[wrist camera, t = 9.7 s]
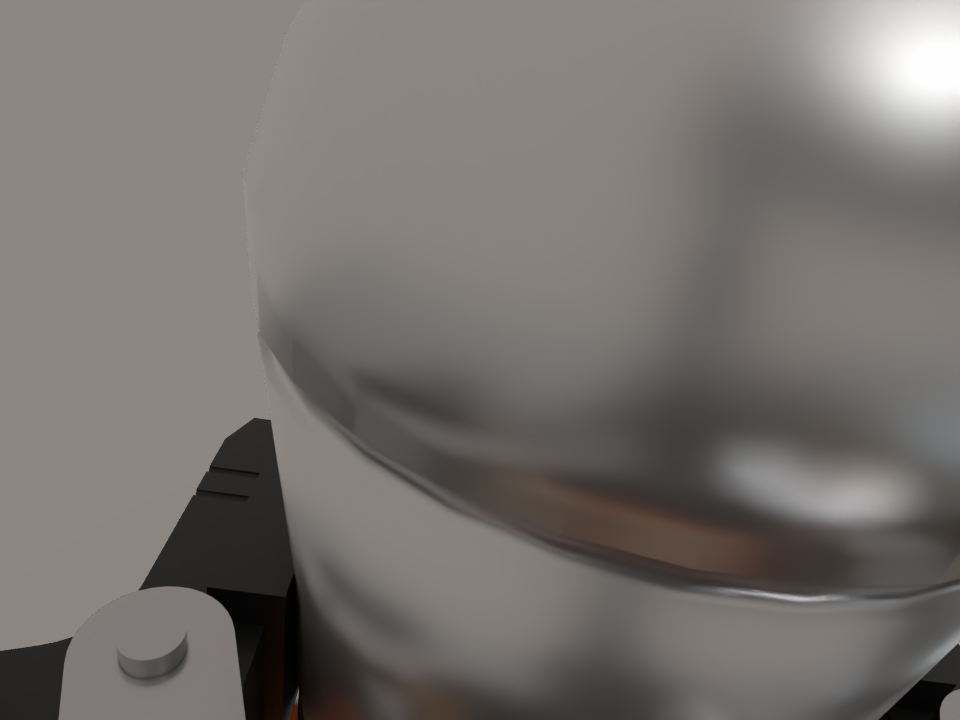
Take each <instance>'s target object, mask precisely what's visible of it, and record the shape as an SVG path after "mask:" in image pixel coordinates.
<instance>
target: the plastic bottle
mask: <svg viewBox="0 0 960 720" xmlns="http://www.w3.org/2000/svg"><path fill="white" fill-rule="evenodd" d="M242 178H243V188H244V189H243V190H244V201H245V213H246V226H247V242H248V259H249V277H250V294H251V299H252V303H253V307H254V311H255V316H256V320H257V324H258V329H259V333H258V340H259V346H260V352H261V359H262V365H263V372H264V379H265V384H266V392H267V398H268V404H269V411H270V417H271V424H272V430H273V437H274V443H275V450H276V456H277V463H278V469H279V476H280V482H281V489H282V495H283V502H284V508H285V515H286V521H287V528H288V534H289V541H290V547H291V554H292V560H293V567H294V573H295V603H296V656H297V683H298V688H299V700H298V720H879V719H880V718H881V717H882V716H883V715H884V714H885V713H886V712H887V711H888V710H889V709H890V708H891V707H892V706H893V705H894V704H895V703H896V702H897V701H898V700H899V699H901V698H902V697H903V696H904V695H905V694H906V693H907V692H908V691H909V690H910V689H911V688H912V687H913V686H914V685H915V684H916V683H917V682H918V681H919V680H920V679H921V678H922V677H923V676H925V675H926V674H927V673H928V672H929V671H930V670H931V669H932V668H933V667H934V666H935V665H936V664H937V663H938V662H939V661H940V660H941V659H942V658H943V657H944V656H945V655H946V654H947V653H949V652H950V651H951V650H952V649H953V648H954V647H955V646H956V645H957V644H958V643H959V642H960V0H306V1H305V2H304V4H303V6H302V7H301V9H300V11H299V12H298V14H297V15H296V17H295V19H294V21H293V22H292V24H291V25H290V27H289V29H288V31H287V33H286V36H285V39H284V42H283V45H282V49H281V52H280V55H279V58H278V61H277V64H276V67H275V71H274V74H273V77H272V80H271V84H270V87H269V90H268V93H267V96H266V99H265V102H264V106H263V109H262V112H261V115H260V118H259V121H258V125H257V128H256V131H255V134H254V137H253V141H252V144H251V147H250V150H249V154H248V156H247V160H246V163H245V166H244V169H243V172H242Z"/></svg>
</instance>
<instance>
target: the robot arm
mask: <svg viewBox="0 0 960 720" xmlns="http://www.w3.org/2000/svg"><path fill="white" fill-rule="evenodd" d="M298 689H299V688H298V683H297V656H296V603H295V573H294V567H293V560H292V554H291V547H290V541H289V534H288V528H287V521H286V515H285V508H284V502H283V495H282V489H281V482H280V476H279V469H278V463H277V456H276V450H275V443H274V437H273V430H272V424H271V420H265V419H258V418H254V419H252V420H251V421H250V422H249V423H247V424H246V425H244V426H243V427H241V428H240V429H239V430H237V431H236V432H234V433H233V434H231V435H230V436H229V437H227V438H226V439H225V440H224V442H223V444H222V446H221V448H220V449H219V451H218V453H217V454H216V456H215V458H214V460H213V461H212V463H211V465H210V469H209V472H206V474H205V476H204V477H203V479H202V481H201V483H200V484H199V486H198V488H197V492H196V495H194V496H193V497H192V498H191V500H190V502H189V504H188V505H187V507H186V509H185V511H184V512H183V514H182V516H181V518H180V519H179V521H178V523H177V525H176V527H175V528H174V530H173V532H172V534H171V536H170V537H169V539H168V541H167V542H166V544H165V546H164V548H163V549H162V551H161V553H160V555H159V556H158V558H157V560H156V562H155V564H154V565H153V567H152V569H151V570H150V572H149V574H148V576H147V577H146V579H145V581H144V583H143V585H142V586H141V588H140V589H139V590H138V591H137V592H134V593H131V594H128V595H125V596H123V597H121V598H119V599H116V600H114V601H112V602H111V603H109V604H107V605H106V606H104V607H103V608H101V609H100V610H98V611H97V612H96V613H95V614H93V615H92V616H91V617H90V618H89V619H88V620H87V621H86V622H85V623H84V624H83V625H82V626H81V627H80V629H79V630H78V631H77V633H76V634H75V636H74V637H71V638H68V639H65V640H62V641H58V642H54V643H49V644H44V645H39V646H32V647H25V648H18V649H11V650H4V651H0V720H290V718H291V714H292V710H293V707H294V703H295V700H296V696H297V692H298ZM879 720H960V646H959V644H957V645H956V646H955V647H954V648H953V649H952V650H951V651H950V652H949V653H947V654H946V655H945V656H944V657H943V658H942V659H941V660H940V661H939V662H938V663H937V664H936V665H935V666H934V667H933V668H932V669H931V670H930V671H929V672H928V673H927V674H926V675H925V676H923V677H922V678H921V679H920V680H919V681H918V682H917V683H916V684H915V685H914V686H913V687H912V688H911V689H910V690H909V691H908V692H907V693H906V694H905V695H904V696H903V697H902V698H901V699H899V700H898V701H897V702H896V703H895V704H894V705H893V706H892V707H891V708H890V709H889V710H888V711H887V712H886V713H885V714H884V715H883V716H882V717H881V718H880V719H879Z"/></svg>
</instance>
